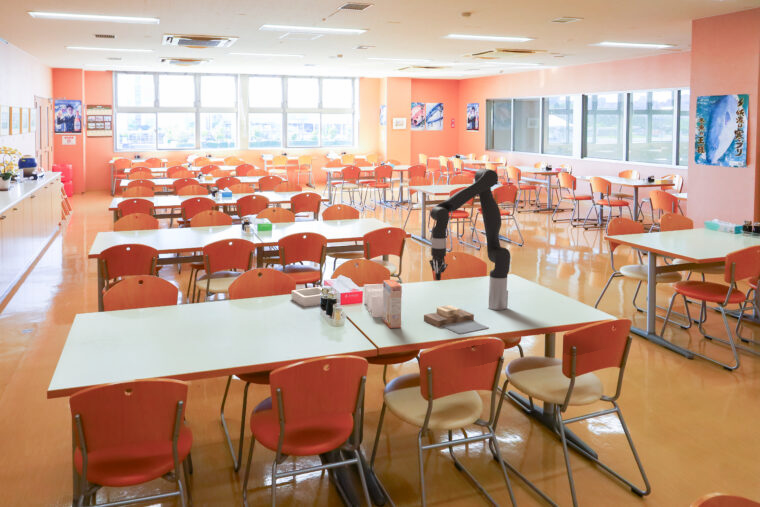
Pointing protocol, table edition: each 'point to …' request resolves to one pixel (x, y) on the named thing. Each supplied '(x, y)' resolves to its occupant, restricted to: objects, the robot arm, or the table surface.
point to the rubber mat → (465, 327)
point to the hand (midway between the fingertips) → (437, 280)
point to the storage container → (374, 299)
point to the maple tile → (447, 311)
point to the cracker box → (392, 303)
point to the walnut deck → (448, 318)
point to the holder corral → (307, 296)
